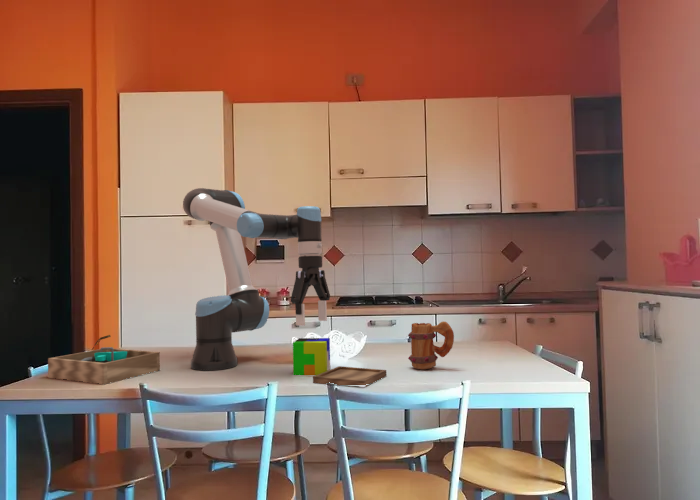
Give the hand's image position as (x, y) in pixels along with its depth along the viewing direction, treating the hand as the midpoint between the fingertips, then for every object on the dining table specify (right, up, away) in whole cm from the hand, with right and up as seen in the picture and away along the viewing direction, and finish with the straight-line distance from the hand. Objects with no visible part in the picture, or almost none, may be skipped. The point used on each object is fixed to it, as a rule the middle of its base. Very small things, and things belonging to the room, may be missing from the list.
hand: (312, 323), depth 169 cm
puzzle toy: (0, -16, 0) cm, 16 cm away
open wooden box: (-66, -17, +3) cm, 69 cm away
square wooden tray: (+12, -15, -12) cm, 23 cm away
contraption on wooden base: (-67, -17, +3) cm, 69 cm away
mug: (+38, -15, +1) cm, 41 cm away
